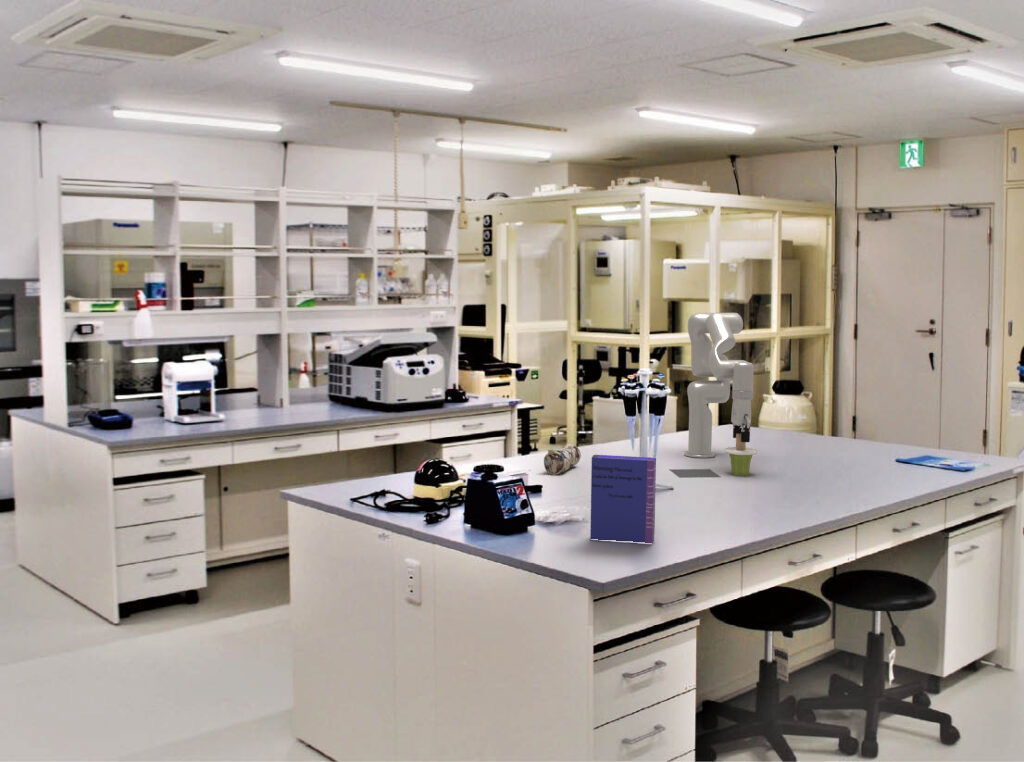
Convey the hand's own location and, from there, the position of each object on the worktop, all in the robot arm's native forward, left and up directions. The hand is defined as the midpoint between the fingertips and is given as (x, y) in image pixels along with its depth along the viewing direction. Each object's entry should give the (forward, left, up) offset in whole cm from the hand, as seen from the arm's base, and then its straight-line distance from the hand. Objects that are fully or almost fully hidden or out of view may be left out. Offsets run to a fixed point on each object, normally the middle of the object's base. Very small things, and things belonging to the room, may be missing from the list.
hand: (741, 440), depth 387 cm
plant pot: (0, 0, -14) cm, 14 cm away
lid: (0, 0, -5) cm, 5 cm away
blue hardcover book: (+94, -64, -14) cm, 115 cm away
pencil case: (-13, -66, -14) cm, 69 cm away
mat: (-2, -17, -13) cm, 22 cm away
